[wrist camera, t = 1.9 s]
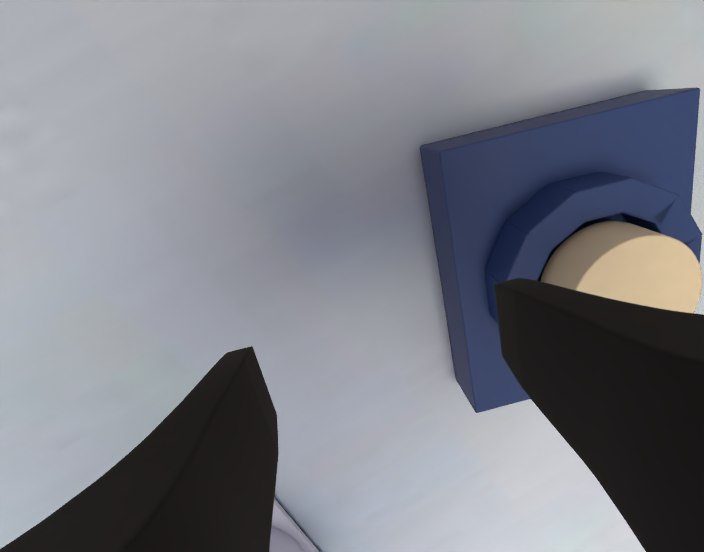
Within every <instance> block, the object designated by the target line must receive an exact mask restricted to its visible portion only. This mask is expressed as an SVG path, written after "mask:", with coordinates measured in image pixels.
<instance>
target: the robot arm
mask: <svg viewBox="0 0 704 552" xmlns="http://www.w3.org/2000/svg"><path fill="white" fill-rule="evenodd" d="M494 286H495V296H496V305H497V315H498V324H499V333H500V343H501V352H502V356H503V358H504V360H505V361H506V363H507V365H508V366H509V368H510V370H511V371H512V373H513V375H514V376H515V378H516V379H517V381H518V382H519V384H520V386H521V387H522V388H523V390H524V391H525V392H526V393H527V395H528V396H529V397H530V398H531V400H532V401H533V402H534V403H535V404H536V406H537V407H538V408H539V409H540V410H541V412H542V413H543V414H544V415H545V416H546V418H547V419H548V420H549V421H550V422H551V423H552V425H553V426H554V427H555V428H556V429H557V431H558V432H559V433H560V434H561V435H562V436H563V438H564V439H565V440H566V441H567V442H568V444H569V445H570V446H571V447H572V448H573V449H574V451H575V452H576V453H577V454H578V455H579V457H580V458H581V459H582V460H583V461H584V463H585V464H586V465H587V467H588V468H589V469H590V470H591V472H592V473H593V474H594V476H595V477H596V478H597V480H598V481H599V482H600V484H601V485H602V487H603V488H604V490H605V491H606V493H607V494H608V496H609V497H610V498H611V500H612V501H613V503H614V504H615V506H616V507H617V509H618V510H619V512H620V513H621V514H622V516H623V517H624V519H625V520H626V522H627V523H628V525H629V526H630V528H631V529H632V531H633V532H634V534H635V536H636V537H637V539H638V540H639V542H640V543H641V545H642V546H643V548H644V549H645V551H646V552H704V315H701V314H694V313H686V312H679V311H672V310H666V309H660V308H654V307H649V306H643V305H638V304H633V303H628V302H623V301H619V300H614V299H610V298H605V297H601V296H597V295H593V294H589V293H584V292H580V291H576V290H572V289H568V288H565V287H561V286H557V285H553V284H549V283H544V282H540V281H536V280H531V279H524V278H516V279H512V280H508V281H504V282H500V283H496V284H494ZM277 462H278V431H277V414H276V411H275V409H274V406H273V403H272V400H271V397H270V394H269V392H268V389H267V386H266V383H265V380H264V378H263V375H262V372H261V369H260V366H259V364H258V361H257V358H256V355H255V352H254V350H253V347H252V346H251V347H247V348H243V349H239V350H236V351H232V352H228V353H226V354H225V355H224V356H223V357H222V358H221V359H220V360H219V361H218V362H217V363H216V364H215V365H214V366H213V367H212V369H211V370H210V371H209V372H208V373H207V374H206V375H205V376H204V378H203V379H202V380H201V381H200V382H199V383H198V384H197V385H196V386H195V388H194V389H193V390H192V391H191V392H190V393H189V394H188V395H187V396H186V397H185V399H184V400H183V401H182V402H181V403H180V404H179V405H178V406H177V407H176V408H175V409H174V410H173V411H172V412H171V413H170V414H169V415H168V416H167V417H166V418H165V419H164V420H163V421H162V422H161V423H160V424H159V425H158V426H157V427H156V428H155V429H154V430H153V431H152V432H151V433H150V434H149V435H148V436H147V437H146V438H145V439H144V440H143V441H142V442H141V443H140V444H139V445H138V446H137V447H135V448H134V449H133V450H132V451H131V452H130V453H129V454H128V455H126V456H125V457H124V458H123V459H122V460H121V461H119V462H118V463H117V464H116V465H115V466H114V467H112V468H111V469H110V470H109V471H108V472H107V473H105V474H104V475H103V476H102V477H100V478H99V479H98V480H97V481H95V482H94V483H93V484H91V485H90V486H89V487H87V488H86V489H85V490H83V491H82V492H81V493H79V494H78V495H77V496H75V497H74V498H73V499H71V500H70V501H69V502H67V503H66V504H65V505H63V506H62V507H61V508H59V509H58V510H57V511H55V512H54V513H53V514H51V515H50V516H49V517H47V518H46V519H44V520H43V521H42V522H40V523H39V524H37V525H36V526H34V527H33V528H31V529H30V530H28V531H27V532H26V533H24V534H23V535H21V536H20V537H18V538H17V539H15V540H14V541H12V542H11V543H9V544H8V545H6V546H5V547H3V548H1V549H0V552H319V551H318V549H317V548H316V547H315V546H314V545H313V544H312V542H311V541H310V540H309V539H308V538H307V536H306V535H305V534H304V533H303V532H302V530H301V529H300V528H299V527H298V526H297V525H296V523H295V522H294V521H293V520H292V519H291V517H290V516H289V515H288V514H287V513H286V512H285V510H284V509H283V508H282V507H281V506H280V504H279V503H278V502H277V501H276V500H275V498H274V495H275V485H276V473H277Z"/></svg>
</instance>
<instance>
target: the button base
mask: <svg viewBox="0 0 704 552" xmlns="http://www.w3.org/2000/svg"><path fill="white" fill-rule="evenodd" d="M699 96H700V88H683V89H665V90H647V91H642V92H638V93H634V94H630V95H626V96H622V97H618V98H614V99H609V100H605V101H601V102H597V103H593V104H589V105H585V106H581V107H577V108H573V109H569V110H564V111H560V112H556V113H552V114H548V115H544V116H540V117H536V118H532V119H528V120H523V121H519V122H515V123H511V124H507V125H503V126H499V127H495V128H491V129H487V130H483V131H478V132H474V133H470V134H466V135H462V136H458V137H454V138H450V139H446V140H442V141H438V142H433V143H429V144H425V145H422V146H420V151H421V157H422V164H423V170H424V176H425V183H426V189H427V196H428V202H429V208H430V215H431V221H432V228H433V234H434V240H435V247H436V253H437V260H438V266H439V272H440V279H441V285H442V292H443V298H444V304H445V311H446V317H447V324H448V330H449V336H450V343H451V349H452V356H453V362H454V368H455V375H456V380H457V382H458V384H459V385H460V387H461V389H462V390H463V392H464V394H465V395H466V397H467V399H468V400H469V402H470V404H471V405H472V407H473V409H474V410H475V412H476V413H478V412H482V411H486V410H490V409H493V408H497V407H501V406H505V405H508V404H512V403H516V402H520V401H523V400H527V399H531V398H530V397H529V396H528V395H527V393H526V392H525V391H524V390H523V388H522V387H521V386H520V384H519V382H518V381H517V379H516V378H515V376H514V375H513V373H512V371H511V370H510V368H509V366H508V365H507V363H506V361H505V360H504V358H503V356H502V352H501V343H500V333H499V324H498V315H497V305H496V296H495V286H494V284H496V283H500V282H504V281H508V280H512V279H516V278H524V279H531V280H536V281H540V280H541V276H542V273H543V271H544V268H545V266H546V264H547V262H548V260H549V259H550V257H551V256H552V254H553V253H554V252H555V250H556V249H557V248H558V247H559V246H560V245H561V244H562V243H563V242H564V241H565V240H566V239H567V238H569V237H570V236H571V235H573V234H574V233H576V232H577V231H579V230H581V229H583V228H585V227H587V226H589V225H593V224H596V223H599V222H605V221H623V222H627V223H631V224H634V225H637V226H640V227H643V228H646V229H649V230H652V231H655V232H658V233H661V234H663V235H666V236H669V237H672V238H675V239H677V240H679V241H681V242H682V243H684V244H685V245H686V246H687V247H688V248H689V249H691V251H692V252H693V253H694V255H695V256H696V258H697V260H698V262H699V263H700V251H701V240H702V236H701V235H702V233H701V231H700V230H699V228H698V226H697V224H696V223H695V221H694V219H693V217H692V216H691V202H692V189H693V175H694V162H695V149H696V135H697V122H698V109H699Z"/></svg>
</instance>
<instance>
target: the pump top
mask: <svg viewBox="0 0 704 552" xmlns="http://www.w3.org/2000/svg"><path fill="white" fill-rule="evenodd" d="M540 282H544V283H549V284H553V285H557V286H561V287H565V288H568V289H572V290H576V291H580V292H584V293H589V294H593V295H597V296H601V297H605V298H610V299H614V300H619V301H623V302H628V303H633V304H638V305H643V306H649V307H654V308H660V309H666V310H672V311H679V312H686V313H694V311H695V309H696V306H697V304H698V301H699V298H700V294H701V288H702V274H701V268H700V265H699V262H698V260H697V258H696V256H695V255H694V253H693V252H692V251H691V249H689V248H688V247H687V246H686V245H685V244H684V243H682V242H681V241H679V240H677V239H675V238H672V237H669V236H666V235H663V234H661V233H658V232H655V231H652V230H649V229H646V228H643V227H640V226H637V225H634V224H631V223H627V222H623V221H605V222H599V223H596V224H593V225H589V226H587V227H585V228H583V229H581V230H579V231H577V232H576V233H574V234H573V235H571V236H570V237H569V238H567V239H566V240H565V241H564V242H563V243H562V244H561V245H560V246H559V247H558V248H557V249H556V250H555V252H554V253H553V254H552V256H551V257H550V259H549V260H548V262H547V264H546V266H545V268H544V271H543V273H542V276H541V280H540Z"/></svg>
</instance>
